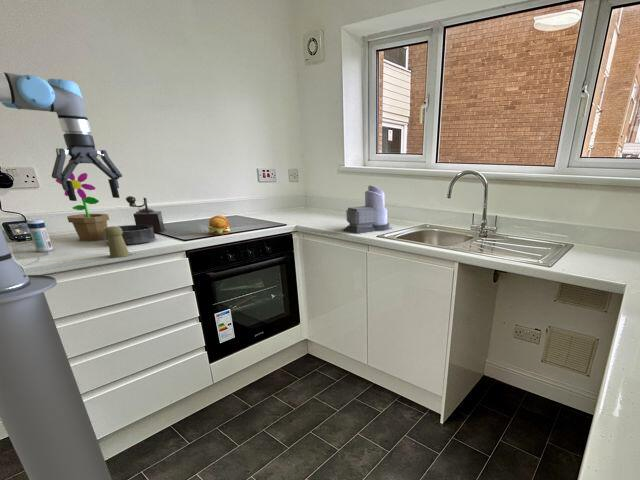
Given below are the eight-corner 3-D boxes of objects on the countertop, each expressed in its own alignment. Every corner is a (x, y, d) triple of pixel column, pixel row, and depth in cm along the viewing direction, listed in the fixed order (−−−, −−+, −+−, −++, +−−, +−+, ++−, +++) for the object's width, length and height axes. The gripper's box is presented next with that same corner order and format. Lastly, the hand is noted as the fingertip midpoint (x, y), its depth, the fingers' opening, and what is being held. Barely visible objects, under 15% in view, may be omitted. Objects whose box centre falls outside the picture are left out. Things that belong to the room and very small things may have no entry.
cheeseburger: (226, 230, 186) (225, 212, 181) (234, 238, 181) (233, 220, 176) (205, 232, 180) (204, 213, 175) (213, 240, 174) (212, 221, 169)
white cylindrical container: (51, 248, 140) (41, 218, 136) (55, 250, 138) (44, 220, 133) (35, 250, 137) (24, 219, 132) (38, 252, 134) (27, 221, 130)
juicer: (377, 224, 220) (377, 184, 211) (396, 228, 210) (397, 185, 202) (340, 230, 199) (339, 185, 190) (359, 234, 189) (358, 187, 180)
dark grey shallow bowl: (135, 246, 148) (132, 232, 146) (97, 244, 149) (93, 230, 147) (164, 238, 164) (161, 225, 162) (129, 237, 165) (126, 224, 163)
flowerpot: (69, 242, 151) (45, 168, 140) (79, 236, 162) (58, 167, 151) (110, 240, 157) (91, 169, 146) (117, 234, 169) (99, 168, 158)
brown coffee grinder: (140, 229, 182) (131, 193, 175) (165, 228, 186) (157, 193, 180) (133, 235, 169) (123, 196, 162) (159, 234, 173) (151, 196, 167)
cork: (116, 253, 137) (109, 225, 133) (133, 253, 138) (126, 225, 133) (106, 257, 131) (98, 228, 127) (123, 257, 132) (116, 228, 128)
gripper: (110, 136, 129) (125, 195, 137) (22, 130, 108) (46, 201, 115) (124, 136, 127) (138, 197, 135) (36, 130, 105) (59, 202, 113)
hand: (95, 199), depth 125 cm, fingers open, 13 cm apart
